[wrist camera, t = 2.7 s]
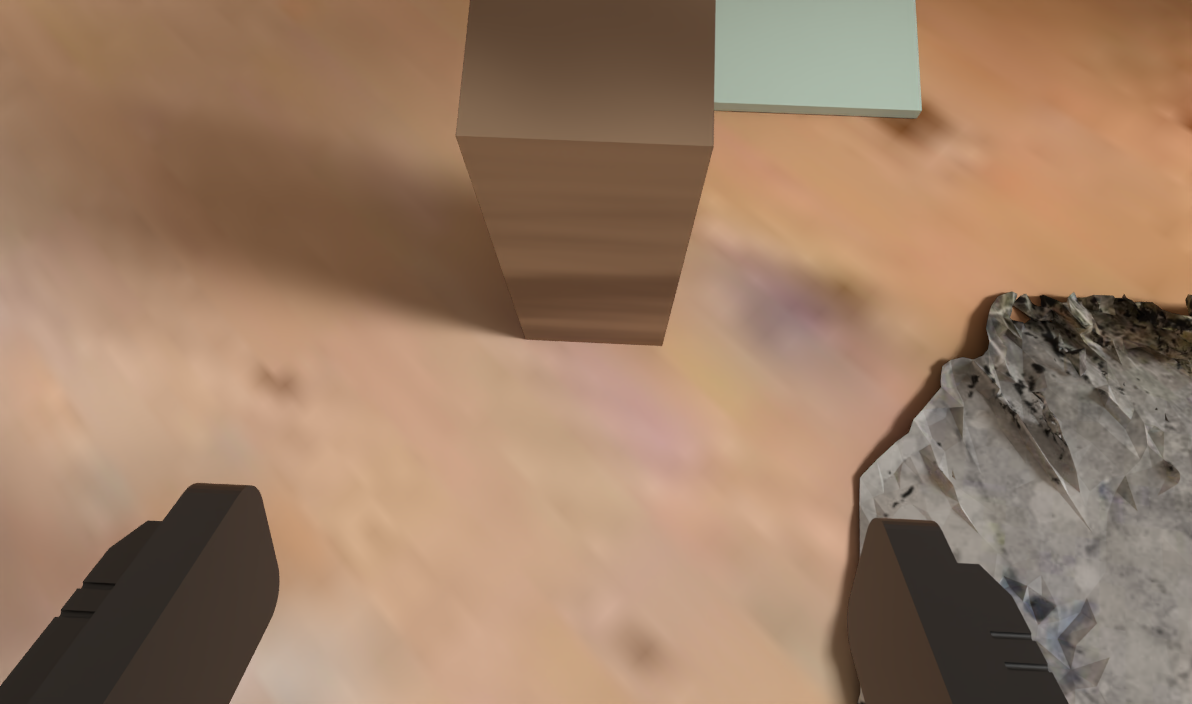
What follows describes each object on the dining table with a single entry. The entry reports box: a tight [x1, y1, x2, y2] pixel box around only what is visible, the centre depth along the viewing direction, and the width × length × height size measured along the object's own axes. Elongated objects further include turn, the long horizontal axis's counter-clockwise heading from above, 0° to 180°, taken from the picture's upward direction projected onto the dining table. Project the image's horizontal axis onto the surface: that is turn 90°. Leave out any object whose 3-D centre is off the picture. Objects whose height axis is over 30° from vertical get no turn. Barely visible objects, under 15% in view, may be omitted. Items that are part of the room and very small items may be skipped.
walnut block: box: [456, 0, 716, 346], centre depth 21 cm, size 4×4×13 cm
